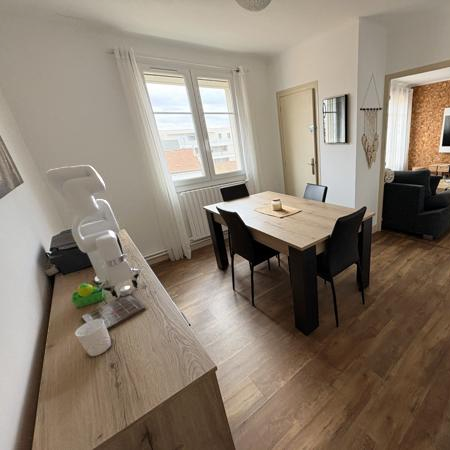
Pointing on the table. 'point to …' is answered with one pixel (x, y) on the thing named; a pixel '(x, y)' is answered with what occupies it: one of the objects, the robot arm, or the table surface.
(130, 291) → the white round puck
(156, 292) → the table surface
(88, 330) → the white cup
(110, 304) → the board
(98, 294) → the fruit basket
